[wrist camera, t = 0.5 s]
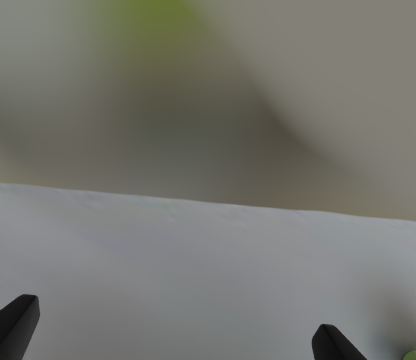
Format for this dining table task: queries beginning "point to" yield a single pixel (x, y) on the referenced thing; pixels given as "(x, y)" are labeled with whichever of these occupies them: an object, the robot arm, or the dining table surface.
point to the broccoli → (410, 355)
